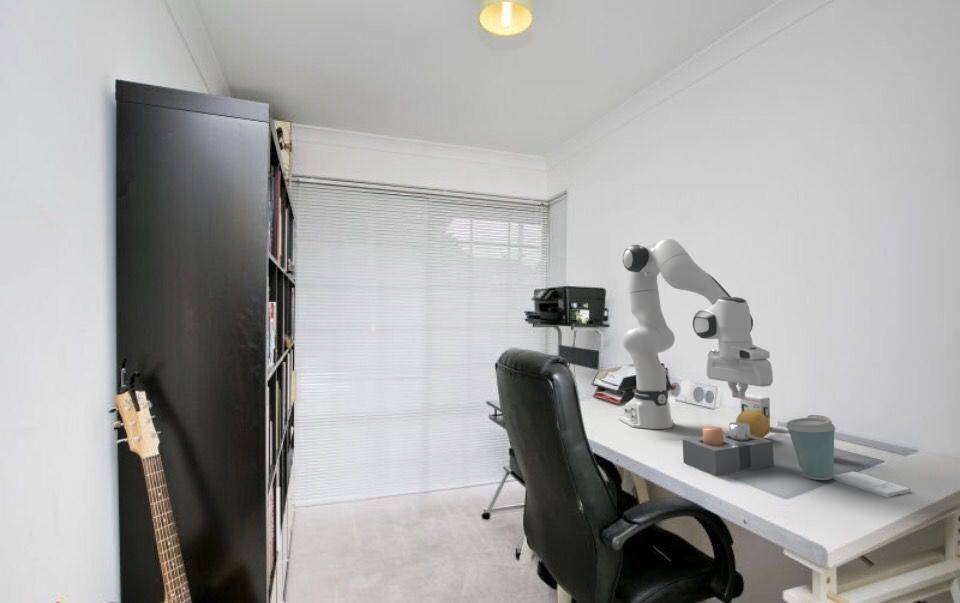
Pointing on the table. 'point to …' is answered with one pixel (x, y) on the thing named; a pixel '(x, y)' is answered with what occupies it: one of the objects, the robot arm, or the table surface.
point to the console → (728, 455)
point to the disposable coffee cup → (814, 446)
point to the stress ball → (754, 422)
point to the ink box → (756, 404)
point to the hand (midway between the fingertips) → (738, 397)
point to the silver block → (739, 432)
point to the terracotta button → (712, 436)
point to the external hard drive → (871, 484)
